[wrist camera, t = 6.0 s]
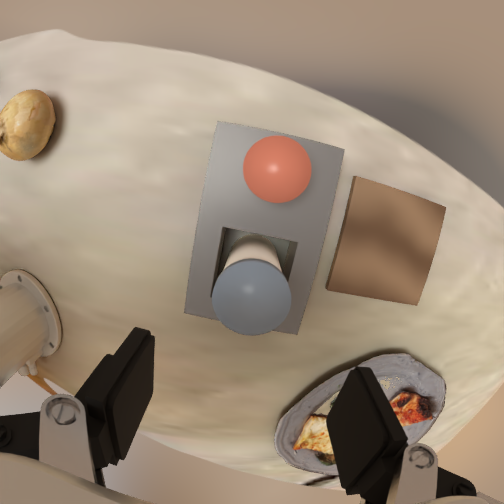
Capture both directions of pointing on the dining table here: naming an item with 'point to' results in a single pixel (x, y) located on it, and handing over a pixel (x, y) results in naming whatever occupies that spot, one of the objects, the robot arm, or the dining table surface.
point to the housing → (261, 217)
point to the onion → (26, 124)
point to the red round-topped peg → (277, 169)
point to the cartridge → (252, 288)
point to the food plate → (314, 426)
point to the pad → (385, 243)
